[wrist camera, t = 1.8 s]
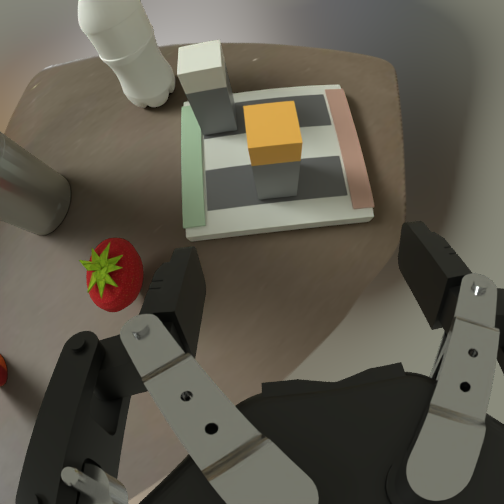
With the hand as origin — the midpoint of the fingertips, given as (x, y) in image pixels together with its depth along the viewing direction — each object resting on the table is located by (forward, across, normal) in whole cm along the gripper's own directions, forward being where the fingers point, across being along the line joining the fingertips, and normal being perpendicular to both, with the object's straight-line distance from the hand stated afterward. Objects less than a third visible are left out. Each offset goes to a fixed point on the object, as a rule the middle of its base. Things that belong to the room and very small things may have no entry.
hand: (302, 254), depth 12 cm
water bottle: (+36, +15, -5) cm, 40 cm away
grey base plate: (+27, 0, +4) cm, 27 cm away
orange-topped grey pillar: (+22, 0, +5) cm, 23 cm away
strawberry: (+18, +17, +13) cm, 28 cm away
